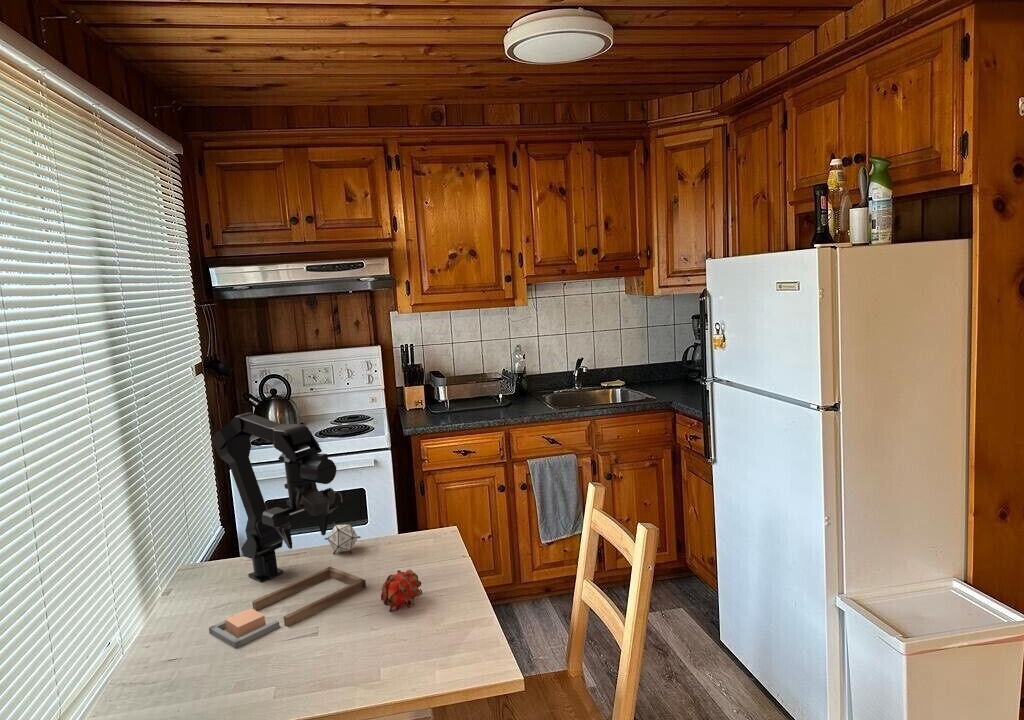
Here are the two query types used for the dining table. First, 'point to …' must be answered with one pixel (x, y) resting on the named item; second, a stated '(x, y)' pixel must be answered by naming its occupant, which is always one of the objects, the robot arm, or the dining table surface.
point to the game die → (342, 538)
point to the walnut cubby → (353, 587)
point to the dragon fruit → (401, 589)
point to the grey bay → (237, 642)
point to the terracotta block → (245, 622)
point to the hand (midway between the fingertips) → (307, 541)
